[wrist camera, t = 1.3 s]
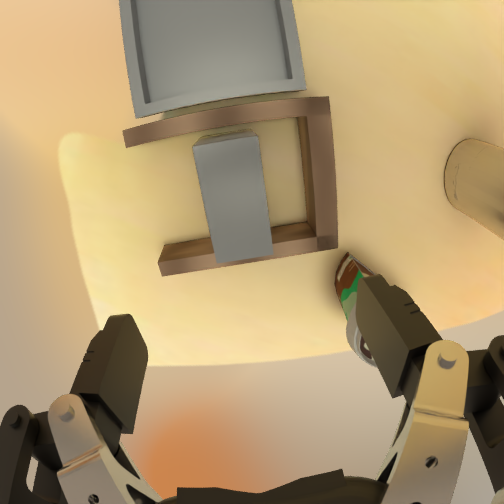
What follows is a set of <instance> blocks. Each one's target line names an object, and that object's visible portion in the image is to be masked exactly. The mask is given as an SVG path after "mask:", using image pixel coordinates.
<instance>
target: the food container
mask: <svg viewBox="0 0 504 504" xmlns="http://www.w3.org/2000/svg"><path fill="white" fill-rule="evenodd" d="M372 275H376V274H375V273H373V272H372V271H371V270H370V269H368V268H367V267H366V266H365V265H363V264H362V263H361V262H360V261H358V260H357V259H356V258H355V257H353V256H352V255H351V254H349V253H347V254H346V255H345V256H344V258H343V259H342V260H341V262H340V265H339V267H338V269H337V271H336V277H335V287H336V291H337V294H338V297H339V300H340V302H341V305H342V308H343V310H344V313H345V316H346V318H347V321H348V322H347V328H346V335H347V340H348V343H349V345H350V347H351V348H352V349H353V350H354V352H355V353H356V354H357V355H358V356H359V357H360V358H361V359H362V360H363V361H365V362H366V363H368V364H369V365H371V366H374V367H377V365H376V363H375V361H374V359H373V357H372V355H371V353H370V351H369V349H368V347H367V345H366V343H365V341H364V339H363V337H362V335H361V333H360V331H359V329H358V326H357V322H356V315H355V312H356V300H357V286H358V280H359V278H363V277H368V276H372ZM377 368H378V367H377Z"/></svg>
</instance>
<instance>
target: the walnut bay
mask: <svg viewBox="0 0 504 504" xmlns="http://www.w3.org/2000/svg"><path fill="white" fill-rule="evenodd" d="M289 117H297V118H298V127H299V135H300V144H301V154H302V164H303V174H304V185H305V197H306V210H307V222H305V223H298V224H292V225H285V226H279V227H272V228H270V229H271V237H272V245H273V253H274V255H268V256H262V257H256V258H249V259H243V260H237V261H231V262H224V263H218V264H217V262H216V258H215V254H214V249H213V245H212V240H211V238H205V239H199V240H193V241H187V242H181V243H176V244H170V245H164V248H163V250H162V253H161V255H160V258H159V260H158V265H159V268H160V271H161V274H162V276H168V275H175V274H181V273H187V272H194V271H200V270H207V269H213V268H219V267H226V266H232V265H238V264H244V263H251V262H257V261H263V260H269V259H275V258H281V257H288V256H294V255H300V254H306V253H312V252H318V251H324V250H330V249H336V248H338V220H337V192H336V173H335V158H334V144H333V133H332V122H331V112H330V103H329V96H328V97H309V98H295V99H284V100H274V101H265V102H256V103H249V104H242V105H235V106H229V107H223V108H217V109H211V110H206V111H201V112H196V113H191V114H186V115H181V116H177V117H172V118H168V119H164V120H160V121H156V122H152V123H148V124H144V125H141V126H137V127H134V128H130V129H127V130H123V136H124V140H125V145H126V148H128V147H132V146H136V145H140V144H143V143H147V142H151V141H155V140H159V139H164V138H168V137H172V136H177V135H181V134H186V133H191V132H196V131H201V130H206V129H211V128H217V127H223V126H229V125H235V124H241V123H248V122H255V121H263V120H271V119H280V118H289Z"/></svg>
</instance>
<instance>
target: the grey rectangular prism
mask: <svg viewBox="0 0 504 504" xmlns="http://www.w3.org/2000/svg"><path fill="white" fill-rule="evenodd" d="M192 148H193V154H194V159H195V164H196V169H197V174H198V179H199V184H200V189H201V194H202V198H203V203H204V208H205V213H206V217H207V222H208V227H209V231H210V236H211V240H212V245H213V249H214V254H215V258H216V262H217V264H218V263H224V262H231V261H237V260H243V259H249V258H256V257H262V256H268V255H274V253H273V245H272V237H271V229H270V221H269V214H268V206H267V198H266V191H265V183H264V176H263V169H262V161H261V154H260V147H259V140H258V135H257V134H256V133H254V132H253V131H252V130H251V129H245V130H239V131H233V132H226V133H221V134H215V135H209V136H204V137H201V138H200V139H199V140H198V141H197V142H196V143H195V144H194V146H193V147H192Z"/></svg>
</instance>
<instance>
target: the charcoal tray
mask: <svg viewBox="0 0 504 504" xmlns="http://www.w3.org/2000/svg"><path fill="white" fill-rule="evenodd" d="M119 6H120V16H121V25H122V35H123V43H124V50H125V57H126V64H127V71H128V78H129V84H130V90H131V95H132V101H133V107H134V112H135V117H136V118H143V117H147V116H150V115H155V114H158V113H162V112H167V111H171V110H175V109H180V108H184V107H189V106H194V105H199V104H204V103H209V102H215V101H220V100H226V99H233V98H239V97H246V96H254V95H262V94H271V93H281V92H293V91H302V90H306V83H305V75H304V69H303V62H302V55H301V49H300V43H299V37H298V31H297V26H296V20H295V15H294V10H293V5H292V0H119Z"/></svg>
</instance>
